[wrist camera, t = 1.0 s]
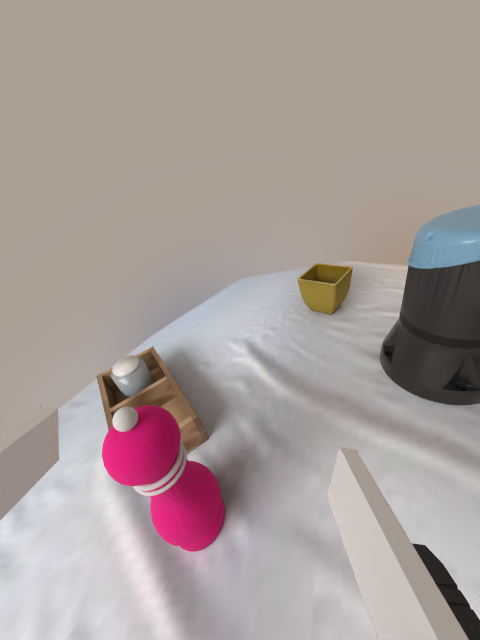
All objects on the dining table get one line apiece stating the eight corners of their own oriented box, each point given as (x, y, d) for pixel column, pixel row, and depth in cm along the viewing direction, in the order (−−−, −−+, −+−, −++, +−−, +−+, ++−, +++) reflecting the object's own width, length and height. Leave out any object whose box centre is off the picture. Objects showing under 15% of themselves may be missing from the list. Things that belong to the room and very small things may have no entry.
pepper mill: (159, 555, 27) (42, 463, 16) (179, 482, 33) (103, 377, 22) (224, 560, 26) (144, 463, 15) (232, 482, 31) (180, 371, 21)
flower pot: (299, 312, 59) (296, 278, 54) (317, 295, 64) (315, 262, 59) (335, 322, 54) (335, 284, 49) (351, 302, 58) (353, 266, 54)
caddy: (163, 366, 53) (153, 346, 50) (208, 438, 37) (197, 416, 34) (111, 395, 49) (96, 375, 46) (137, 490, 33) (117, 470, 30)
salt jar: (152, 376, 49) (137, 349, 45) (161, 393, 45) (145, 364, 41) (125, 392, 47) (106, 364, 43) (131, 411, 43) (111, 382, 39)
